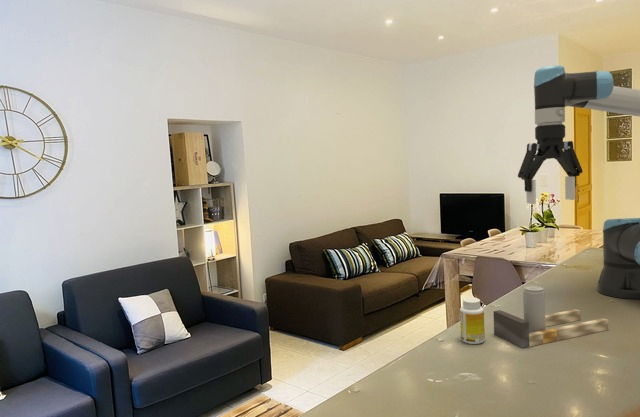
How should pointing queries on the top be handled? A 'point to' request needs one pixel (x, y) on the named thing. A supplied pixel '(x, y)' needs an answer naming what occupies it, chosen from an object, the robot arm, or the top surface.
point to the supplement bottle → (472, 321)
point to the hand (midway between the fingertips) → (551, 201)
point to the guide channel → (519, 328)
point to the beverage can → (534, 307)
